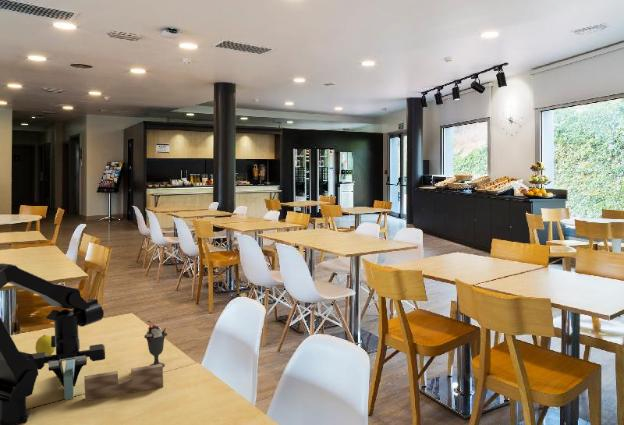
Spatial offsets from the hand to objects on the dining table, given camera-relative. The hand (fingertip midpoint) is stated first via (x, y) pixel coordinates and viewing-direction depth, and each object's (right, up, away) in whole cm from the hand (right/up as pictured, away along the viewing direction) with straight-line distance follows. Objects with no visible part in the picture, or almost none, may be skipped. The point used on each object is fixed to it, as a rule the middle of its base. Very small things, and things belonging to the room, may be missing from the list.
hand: (69, 386), depth 133 cm
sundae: (+18, 0, +17) cm, 25 cm away
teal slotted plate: (-2, -1, +5) cm, 6 cm away
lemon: (-20, 0, +24) cm, 31 cm away
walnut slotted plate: (+15, -2, 0) cm, 16 cm away
